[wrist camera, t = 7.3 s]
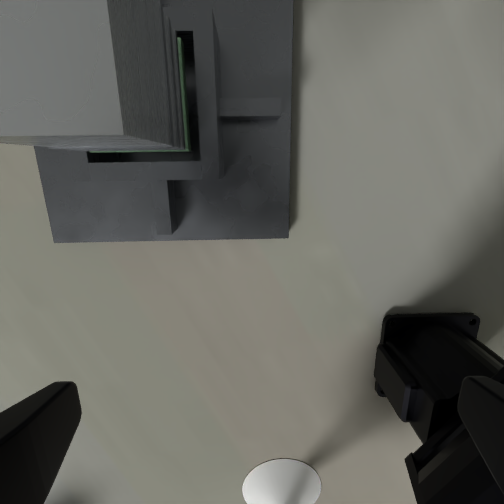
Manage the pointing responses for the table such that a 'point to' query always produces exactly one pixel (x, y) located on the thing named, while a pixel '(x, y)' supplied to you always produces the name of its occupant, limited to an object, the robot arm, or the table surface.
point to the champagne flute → (282, 483)
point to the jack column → (92, 76)
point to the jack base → (196, 142)
